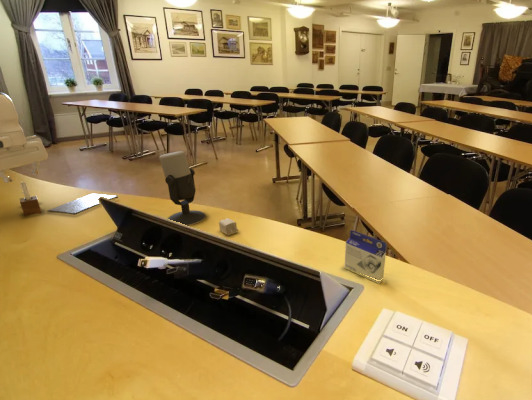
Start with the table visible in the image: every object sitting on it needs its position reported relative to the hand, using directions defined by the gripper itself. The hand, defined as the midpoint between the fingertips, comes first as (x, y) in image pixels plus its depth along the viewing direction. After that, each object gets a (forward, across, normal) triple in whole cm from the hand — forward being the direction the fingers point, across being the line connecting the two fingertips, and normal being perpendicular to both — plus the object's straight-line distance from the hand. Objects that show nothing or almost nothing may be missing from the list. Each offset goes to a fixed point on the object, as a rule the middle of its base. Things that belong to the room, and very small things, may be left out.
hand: (22, 178), depth 116 cm
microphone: (+15, -9, +58) cm, 60 cm away
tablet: (+14, -12, +10) cm, 21 cm away
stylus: (+13, 0, 0) cm, 13 cm away
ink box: (+16, +12, +125) cm, 126 cm away
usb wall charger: (+15, -2, +79) cm, 80 cm away
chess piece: (+14, -6, -10) cm, 18 cm away
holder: (+14, 0, 0) cm, 14 cm away
